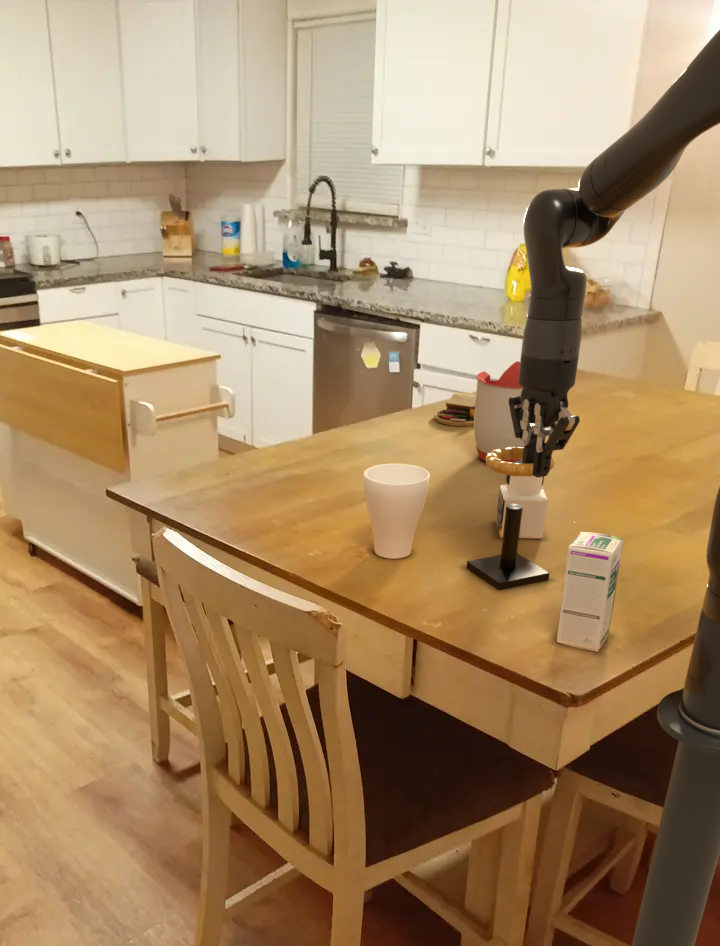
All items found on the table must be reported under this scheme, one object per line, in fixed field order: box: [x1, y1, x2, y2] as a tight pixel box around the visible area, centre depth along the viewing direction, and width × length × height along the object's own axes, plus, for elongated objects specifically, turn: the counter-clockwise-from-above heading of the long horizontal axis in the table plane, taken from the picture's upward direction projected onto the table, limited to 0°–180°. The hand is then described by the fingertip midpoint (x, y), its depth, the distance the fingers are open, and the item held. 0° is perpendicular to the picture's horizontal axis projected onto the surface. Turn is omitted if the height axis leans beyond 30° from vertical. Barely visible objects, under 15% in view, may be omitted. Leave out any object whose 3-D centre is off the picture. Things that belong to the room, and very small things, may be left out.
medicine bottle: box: [495, 461, 549, 540], centre depth 161 cm, size 7×7×12 cm
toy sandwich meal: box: [433, 392, 476, 427], centre depth 223 cm, size 12×14×5 cm
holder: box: [465, 504, 550, 591], centre depth 146 cm, size 9×9×11 cm
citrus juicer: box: [473, 361, 550, 463], centre depth 194 cm, size 16×17×20 cm
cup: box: [363, 462, 431, 560], centre depth 154 cm, size 10×10×14 cm
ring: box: [485, 447, 555, 476], centre depth 140 cm, size 10×10×2 cm
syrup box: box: [556, 530, 624, 653], centre depth 126 cm, size 6×6×14 cm
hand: (534, 473), depth 137 cm, fingers closed on ring, 2 cm apart
